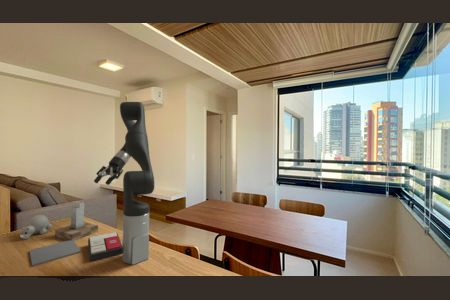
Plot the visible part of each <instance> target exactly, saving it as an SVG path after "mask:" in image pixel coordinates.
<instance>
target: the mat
mask: <svg viewBox="0 0 450 300" xmlns="http://www.w3.org/2000/svg"><path fill="white" fill-rule="evenodd" d="M81 252H82V251H81V250H80V248H79V247H78V245H77V243H76V241H74V240H65V241H60V242H57V243H53V244H49V245H45V246H44V245H43V246H40V247H36V248H33V249H29V252H28V253H29V257H30V262H31V267H32V268H33V267H35V266H39V265H43V264H45V263H48V262H53V261H56V260H59V259H63V258H68V257H70V256H73V255H77V254H81Z"/></svg>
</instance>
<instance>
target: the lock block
mask: <svg viewBox="0 0 450 300" xmlns="http://www.w3.org/2000/svg"><path fill="white" fill-rule="evenodd" d="M97 232H99V225H98V224H94V223H91V222H87V221H86V222H85V221H84V227H83V228H80V229H77V230H73V229H71V224H69V225H66V226H63V227H59V228H57V229H54V237H56V238H60V239H62V240H65V241H68V240H74V242H76V241H78V240H80V239H83V238H84V237H87V236H90V235H92V234H95V233H97Z"/></svg>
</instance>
